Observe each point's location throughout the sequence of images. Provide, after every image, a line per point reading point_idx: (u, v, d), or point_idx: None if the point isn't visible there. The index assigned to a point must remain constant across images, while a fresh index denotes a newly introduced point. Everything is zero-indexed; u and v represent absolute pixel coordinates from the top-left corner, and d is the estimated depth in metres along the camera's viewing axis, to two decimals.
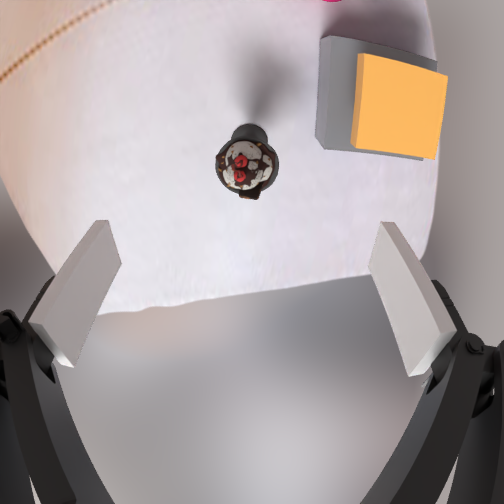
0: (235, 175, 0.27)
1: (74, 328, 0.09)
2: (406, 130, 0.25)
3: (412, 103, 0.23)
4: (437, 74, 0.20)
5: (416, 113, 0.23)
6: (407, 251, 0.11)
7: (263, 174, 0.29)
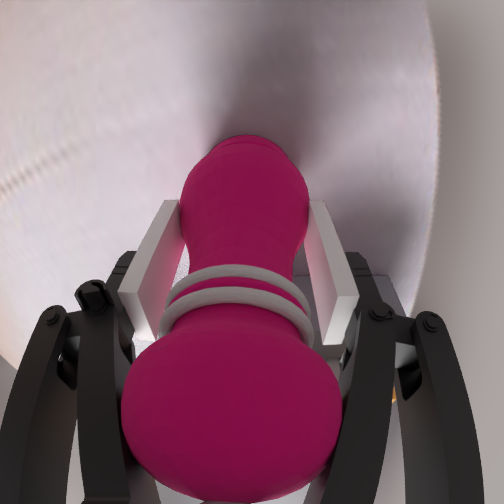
0: None
1: (157, 300, 0.11)
2: None
3: None
4: None
5: None
6: (326, 224, 0.12)
7: None
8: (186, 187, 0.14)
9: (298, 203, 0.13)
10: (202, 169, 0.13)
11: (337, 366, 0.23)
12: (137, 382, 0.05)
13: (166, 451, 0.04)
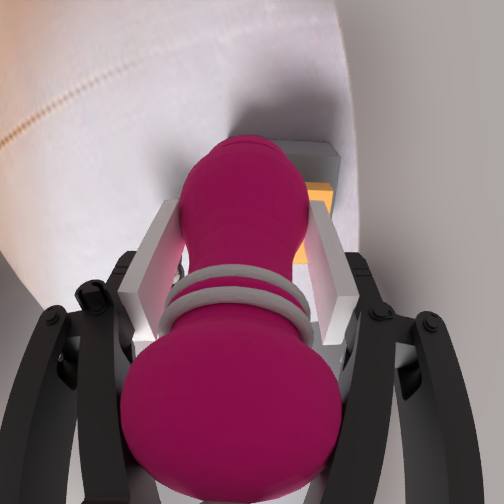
0: None
1: (157, 300, 0.11)
2: None
3: None
4: (319, 192, 0.29)
5: None
6: (326, 224, 0.12)
7: None
8: (186, 187, 0.14)
9: (298, 202, 0.13)
10: (202, 169, 0.13)
11: None
12: (136, 381, 0.05)
13: (166, 451, 0.04)
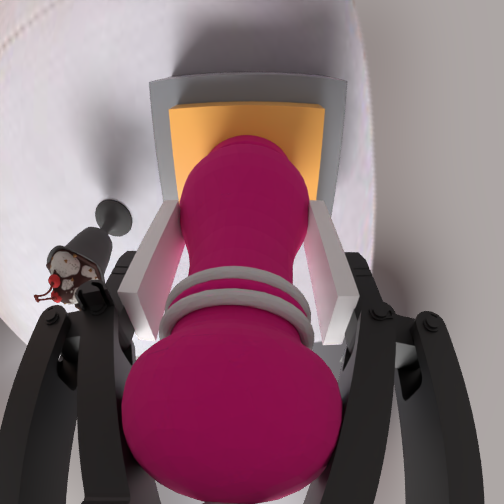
0: (51, 297, 0.20)
1: (157, 300, 0.11)
2: None
3: None
4: (302, 109, 0.17)
5: None
6: (326, 224, 0.12)
7: None
8: (186, 188, 0.14)
9: (298, 203, 0.13)
10: (202, 170, 0.13)
11: None
12: (138, 384, 0.05)
13: (167, 454, 0.04)
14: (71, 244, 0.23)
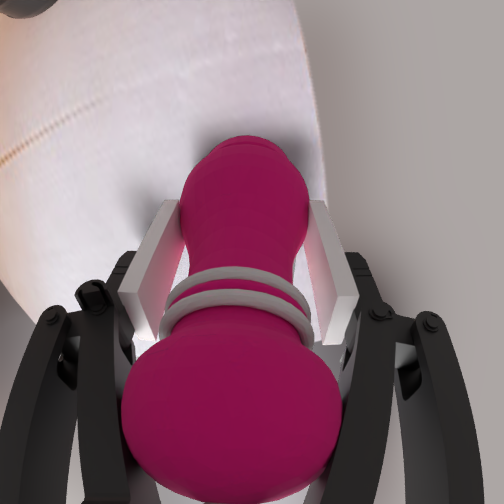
0: None
1: (157, 300, 0.11)
2: None
3: None
4: None
5: None
6: (326, 224, 0.12)
7: None
8: (186, 188, 0.14)
9: (298, 204, 0.13)
10: (202, 170, 0.13)
11: None
12: (138, 384, 0.05)
13: (167, 454, 0.04)
14: None
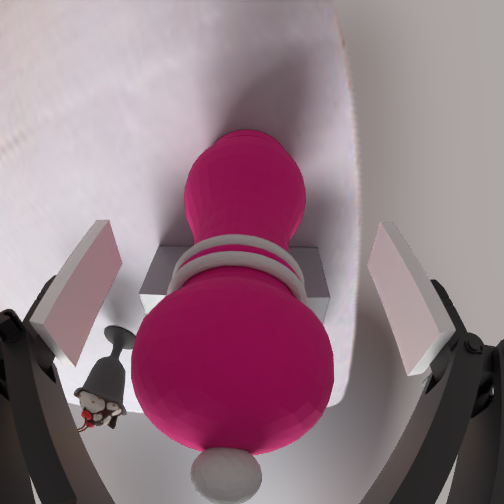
0: (85, 424, 0.24)
1: (75, 328, 0.09)
2: None
3: None
4: None
5: None
6: (406, 251, 0.11)
7: (112, 415, 0.26)
8: (191, 175, 0.15)
9: (294, 189, 0.14)
10: (206, 158, 0.15)
11: None
12: (150, 328, 0.07)
13: (174, 386, 0.05)
14: (93, 383, 0.26)
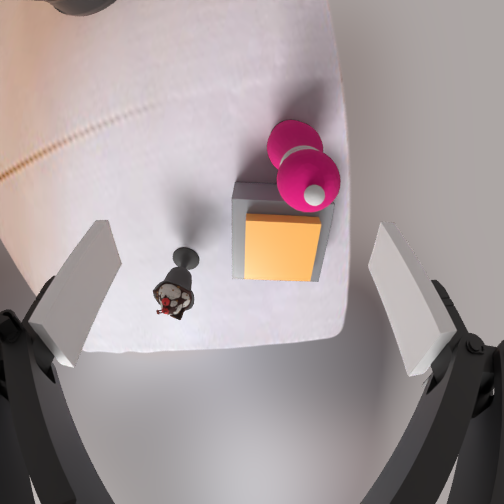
0: (162, 310, 0.41)
1: (74, 328, 0.09)
2: (282, 266, 0.42)
3: (286, 248, 0.40)
4: (310, 225, 0.38)
5: (290, 254, 0.41)
6: (407, 251, 0.11)
7: (183, 305, 0.43)
8: (274, 135, 0.33)
9: (319, 143, 0.33)
10: (282, 128, 0.33)
11: None
12: (291, 156, 0.25)
13: (302, 163, 0.24)
14: (172, 279, 0.43)
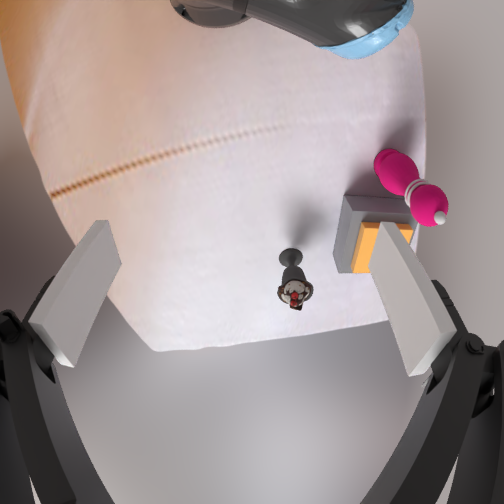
0: (291, 303, 0.50)
1: (74, 328, 0.09)
2: None
3: None
4: (406, 230, 0.46)
5: None
6: (407, 251, 0.11)
7: (304, 297, 0.52)
8: (388, 164, 0.42)
9: None
10: (394, 159, 0.41)
11: None
12: (423, 190, 0.33)
13: (433, 196, 0.32)
14: (295, 276, 0.52)
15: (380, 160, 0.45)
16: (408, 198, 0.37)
